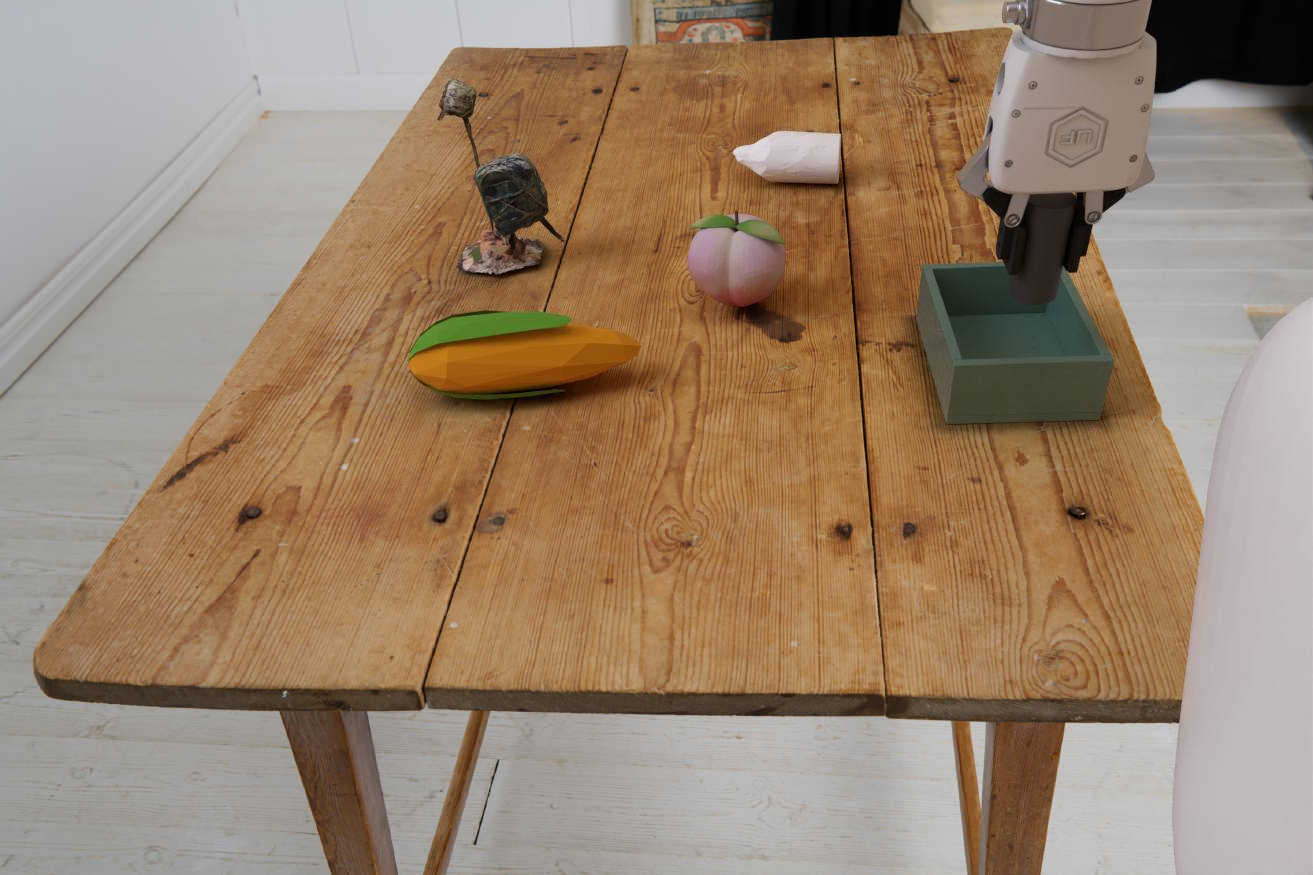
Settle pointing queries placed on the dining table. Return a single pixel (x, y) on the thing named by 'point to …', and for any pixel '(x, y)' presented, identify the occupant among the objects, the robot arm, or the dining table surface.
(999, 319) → the bin
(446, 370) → the corn
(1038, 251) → the dark grey cylinder
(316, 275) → the dining table surface
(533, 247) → the long necked figurine
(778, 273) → the decorative fruit
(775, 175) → the white pointed cylinder
